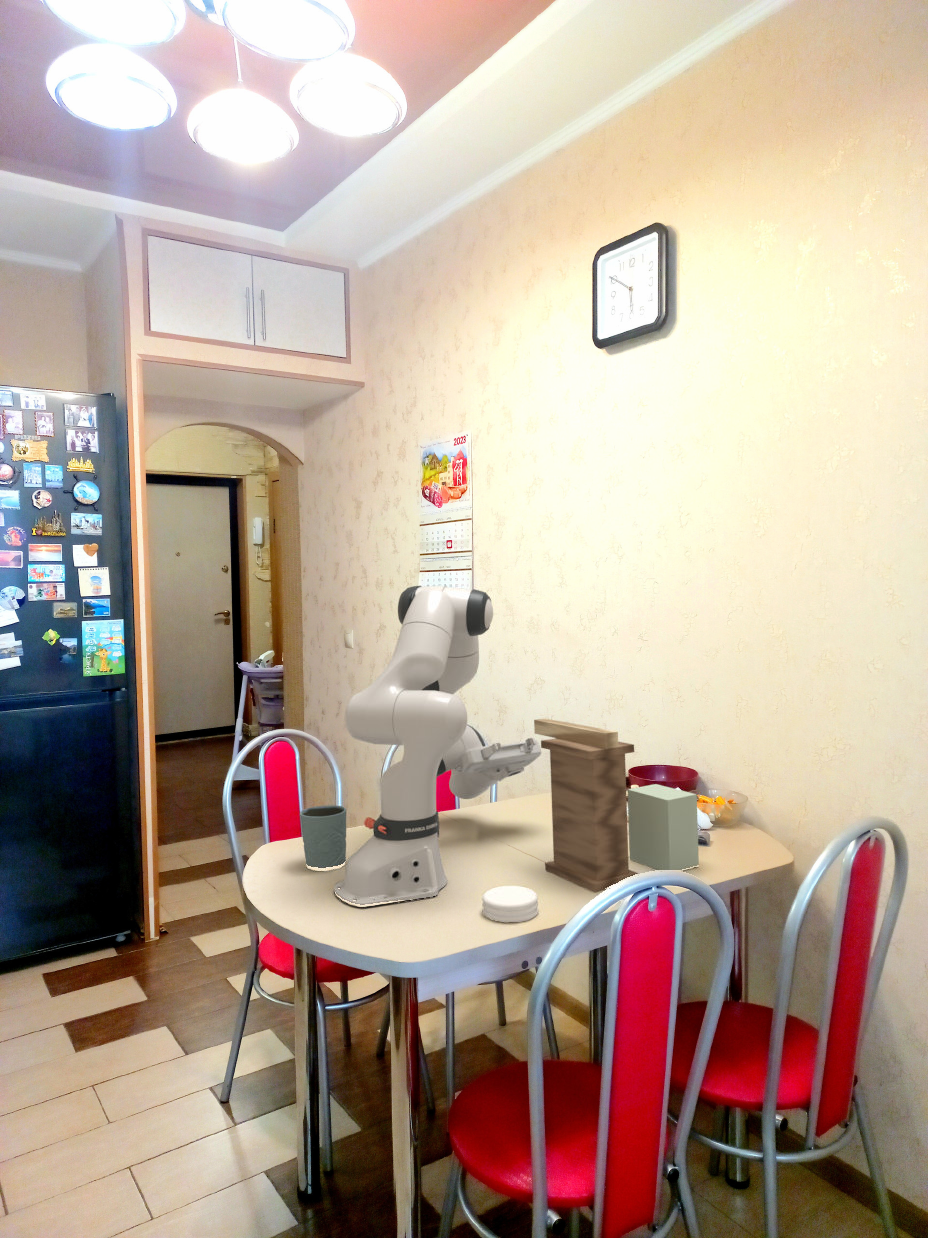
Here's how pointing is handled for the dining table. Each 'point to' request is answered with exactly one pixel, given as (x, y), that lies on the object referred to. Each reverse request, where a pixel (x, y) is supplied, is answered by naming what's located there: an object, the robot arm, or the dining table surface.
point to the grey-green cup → (324, 835)
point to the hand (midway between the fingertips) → (515, 743)
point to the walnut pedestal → (589, 813)
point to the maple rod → (577, 733)
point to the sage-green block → (663, 827)
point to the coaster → (510, 904)
